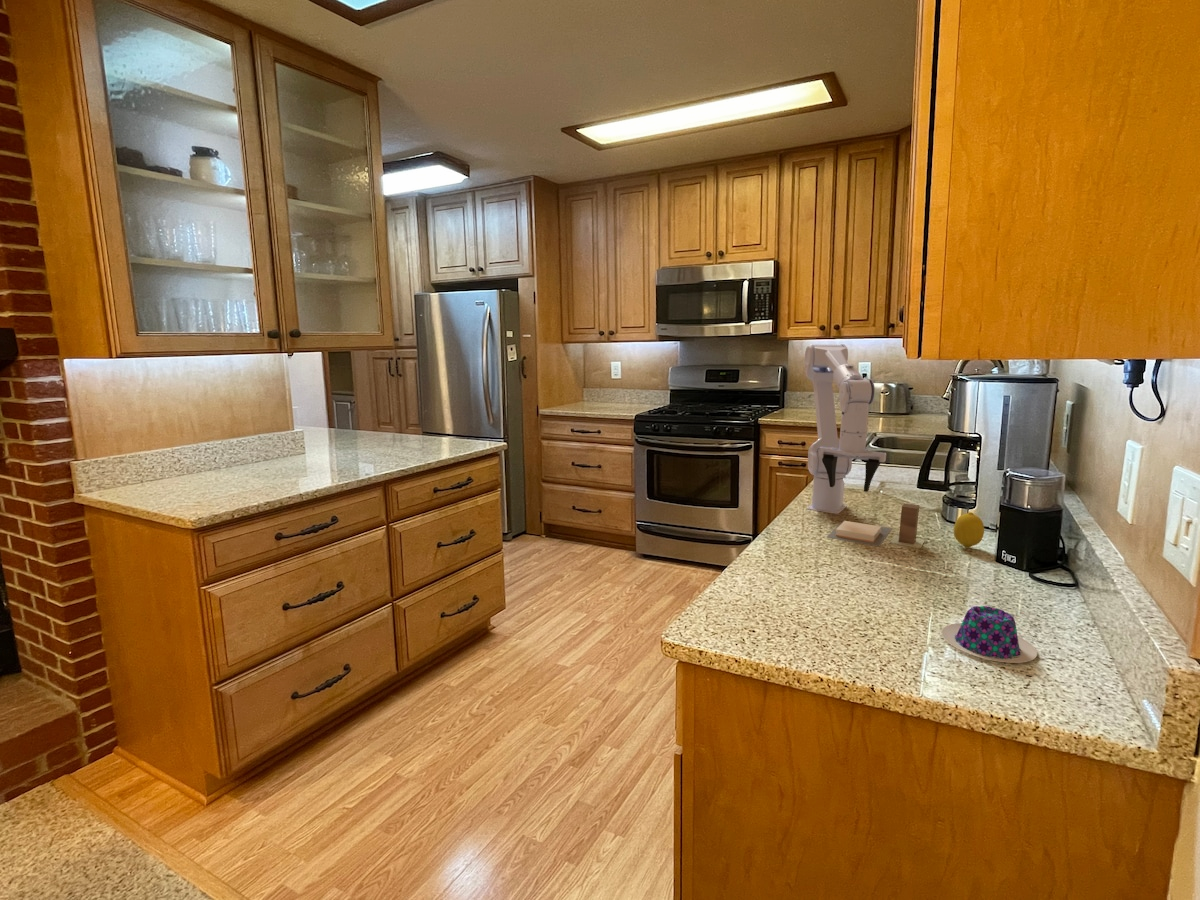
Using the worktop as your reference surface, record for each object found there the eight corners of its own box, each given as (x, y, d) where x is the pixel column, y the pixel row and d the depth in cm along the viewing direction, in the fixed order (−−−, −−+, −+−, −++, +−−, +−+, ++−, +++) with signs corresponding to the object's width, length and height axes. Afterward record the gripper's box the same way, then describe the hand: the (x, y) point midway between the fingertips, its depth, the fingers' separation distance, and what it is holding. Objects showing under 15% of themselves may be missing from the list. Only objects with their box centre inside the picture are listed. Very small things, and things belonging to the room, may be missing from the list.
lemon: (973, 544, 135) (978, 509, 133) (986, 553, 129) (991, 516, 128) (947, 543, 135) (951, 508, 134) (959, 552, 130) (963, 515, 128)
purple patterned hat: (922, 631, 95) (926, 599, 94) (988, 624, 98) (992, 593, 97) (985, 671, 84) (989, 636, 83) (1058, 663, 86) (1063, 628, 85)
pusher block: (900, 538, 137) (904, 503, 135) (915, 540, 135) (919, 505, 134) (898, 541, 134) (901, 506, 133) (913, 544, 133) (917, 508, 131)
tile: (844, 520, 145) (836, 529, 139) (881, 526, 141) (874, 535, 134) (844, 527, 145) (835, 536, 139) (880, 533, 141) (873, 542, 134)
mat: (843, 521, 151) (843, 520, 151) (892, 529, 145) (892, 528, 145) (826, 538, 138) (826, 537, 138) (878, 548, 132) (879, 546, 132)
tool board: (894, 537, 139) (894, 534, 139) (924, 542, 136) (924, 539, 136) (889, 544, 134) (890, 542, 134) (920, 549, 131) (920, 547, 131)
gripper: (816, 430, 144) (812, 487, 146) (883, 436, 136) (878, 496, 138) (824, 427, 149) (821, 481, 152) (889, 432, 141) (884, 490, 144)
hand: (848, 488), depth 145 cm, fingers open, 7 cm apart
